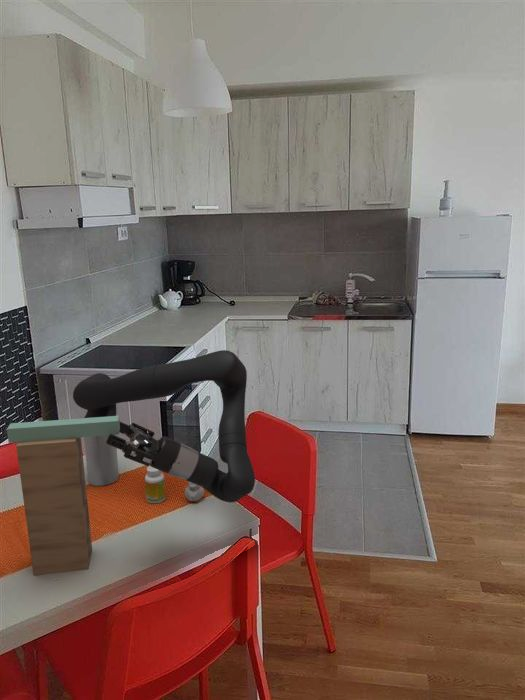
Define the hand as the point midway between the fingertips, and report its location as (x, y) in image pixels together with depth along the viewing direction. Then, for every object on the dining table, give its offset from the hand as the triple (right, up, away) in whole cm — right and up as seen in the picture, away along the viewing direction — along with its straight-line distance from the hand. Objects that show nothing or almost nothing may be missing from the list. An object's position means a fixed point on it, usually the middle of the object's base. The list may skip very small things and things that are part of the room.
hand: (109, 430), depth 119 cm
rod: (-9, -1, -2) cm, 9 cm away
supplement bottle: (+4, -25, +33) cm, 42 cm away
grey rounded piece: (+15, -25, +34) cm, 44 cm away
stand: (-12, -32, +6) cm, 35 cm away
